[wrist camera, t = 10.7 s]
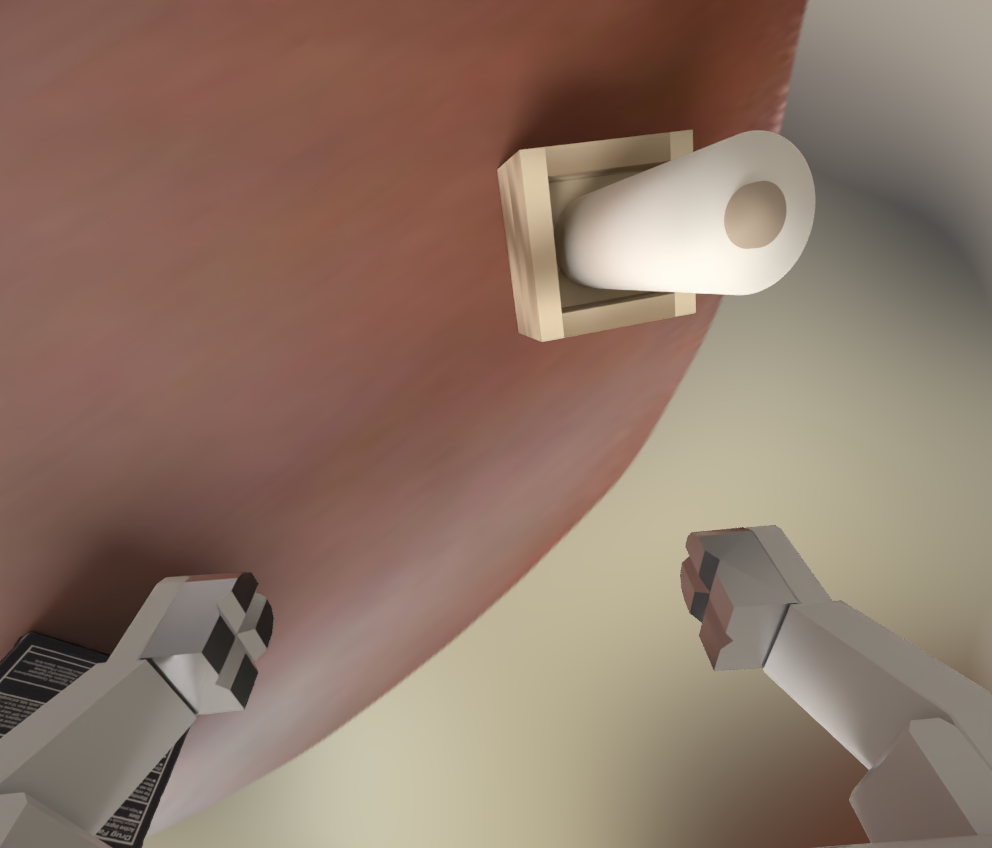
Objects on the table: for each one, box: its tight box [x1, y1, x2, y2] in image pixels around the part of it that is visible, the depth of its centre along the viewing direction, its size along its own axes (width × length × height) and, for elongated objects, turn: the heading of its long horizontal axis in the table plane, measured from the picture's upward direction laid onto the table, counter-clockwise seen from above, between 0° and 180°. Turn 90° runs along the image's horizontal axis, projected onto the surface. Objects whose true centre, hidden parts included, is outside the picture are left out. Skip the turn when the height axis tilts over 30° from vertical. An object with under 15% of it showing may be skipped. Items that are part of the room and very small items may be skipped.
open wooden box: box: [497, 130, 696, 342], centre depth 27 cm, size 9×9×4 cm
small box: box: [0, 632, 190, 848], centre depth 26 cm, size 11×6×10 cm, turn 55°
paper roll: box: [554, 130, 815, 295], centre depth 21 cm, size 5×5×12 cm
